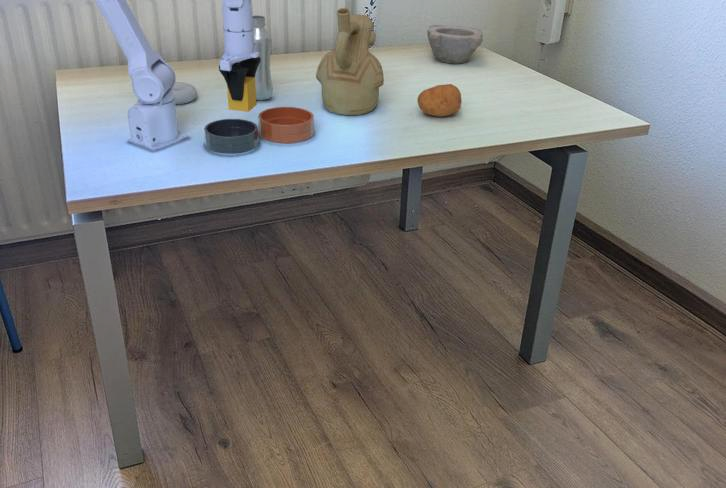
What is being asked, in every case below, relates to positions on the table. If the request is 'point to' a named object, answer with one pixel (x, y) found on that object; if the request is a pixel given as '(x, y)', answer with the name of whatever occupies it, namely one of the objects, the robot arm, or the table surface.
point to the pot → (231, 136)
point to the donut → (183, 92)
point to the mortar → (453, 42)
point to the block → (244, 97)
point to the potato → (440, 100)
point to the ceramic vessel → (351, 68)
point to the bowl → (286, 124)
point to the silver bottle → (262, 58)
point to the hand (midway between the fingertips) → (241, 96)
